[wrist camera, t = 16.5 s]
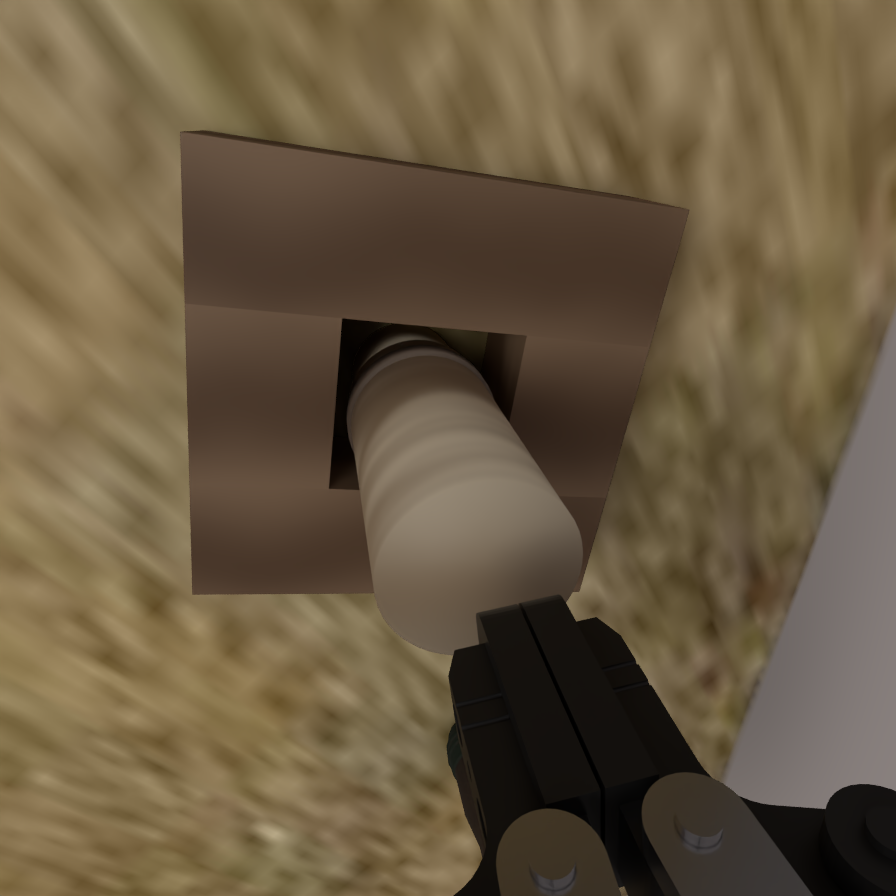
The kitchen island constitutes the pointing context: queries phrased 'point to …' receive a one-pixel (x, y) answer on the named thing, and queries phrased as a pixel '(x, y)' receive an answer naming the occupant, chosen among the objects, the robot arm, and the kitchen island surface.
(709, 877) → the robot arm
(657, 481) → the kitchen island surface
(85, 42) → the kitchen island surface
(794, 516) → the kitchen island surface
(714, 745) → the kitchen island surface
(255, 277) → the block
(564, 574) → the peg
